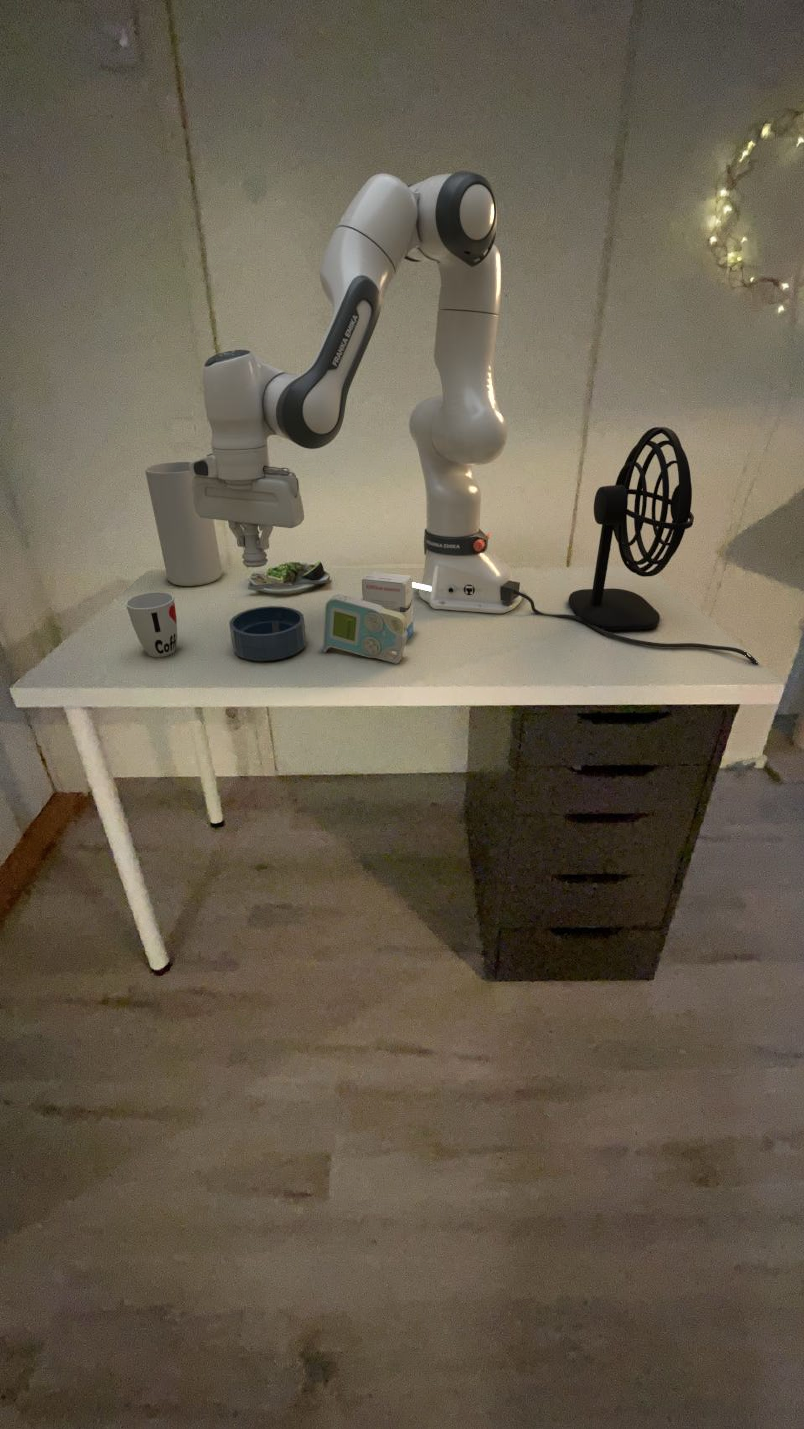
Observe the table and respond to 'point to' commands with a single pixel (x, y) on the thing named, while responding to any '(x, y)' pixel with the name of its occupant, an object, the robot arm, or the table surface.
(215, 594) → the table surface
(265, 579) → the salad plate
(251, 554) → the rook chess piece
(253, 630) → the bowl
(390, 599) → the ink box
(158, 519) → the cylinder vase
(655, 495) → the desk fan
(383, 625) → the handheld gaming console
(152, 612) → the cup
